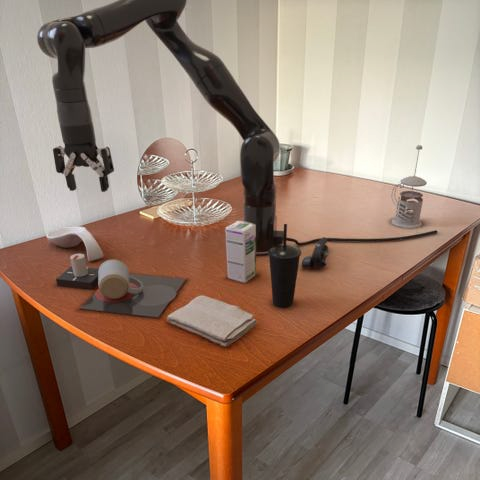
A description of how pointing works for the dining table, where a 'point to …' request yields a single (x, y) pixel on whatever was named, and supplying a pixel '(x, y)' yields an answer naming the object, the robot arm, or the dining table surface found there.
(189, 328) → the washcloth
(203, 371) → the dining table surface
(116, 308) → the hob
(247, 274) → the syrup box
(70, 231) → the spoon rest
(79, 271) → the hob knob
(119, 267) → the ceramic mug
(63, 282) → the control box
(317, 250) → the can opener
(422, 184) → the french press
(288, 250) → the drinking cup
